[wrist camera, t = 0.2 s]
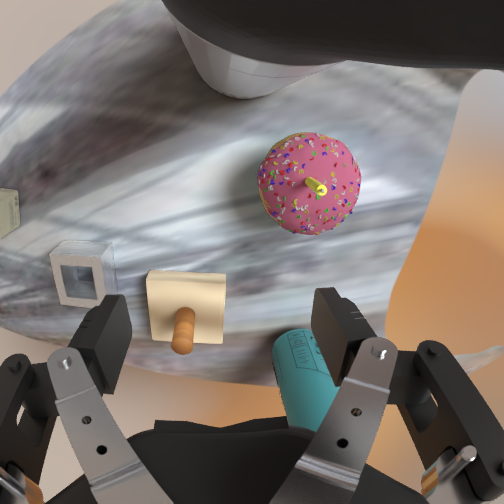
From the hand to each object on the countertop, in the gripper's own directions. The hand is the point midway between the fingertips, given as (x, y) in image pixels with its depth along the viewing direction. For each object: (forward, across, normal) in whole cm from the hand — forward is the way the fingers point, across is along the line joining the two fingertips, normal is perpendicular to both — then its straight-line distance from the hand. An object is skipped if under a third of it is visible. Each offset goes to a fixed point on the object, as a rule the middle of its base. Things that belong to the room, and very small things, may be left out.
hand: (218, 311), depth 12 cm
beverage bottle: (+18, -9, +17) cm, 26 cm away
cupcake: (+17, -7, -3) cm, 19 cm away
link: (+18, +14, +6) cm, 23 cm away
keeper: (+18, +4, +11) cm, 21 cm away
